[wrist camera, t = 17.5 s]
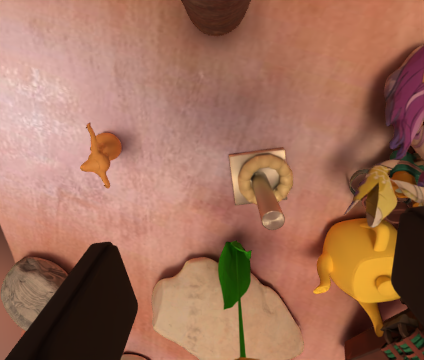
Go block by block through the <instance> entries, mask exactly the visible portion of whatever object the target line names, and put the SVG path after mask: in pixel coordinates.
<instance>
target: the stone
mask: <svg viewBox="0 0 424 360" xmlns="http://www.w3.org/2000/svg"><path fill="white" fill-rule="evenodd" d="M218 264H219V263H217V262H215V261H214V260H212V259H209V258H206V257H200V258H194V259H190V260H188V261H186V263H185V265H184V266H183V268H182V270H181V271H180V272H179V273H178V274H177V275H175V276H174V277H171V278H164V279H162V280H159V281H158V283H157V284H156V285H155V287H154V289H153V293H152V310H153V321H152V325H153V329H154V330H155V331H156V332H157V333H159V334H161V335H162V336H163V337H165V338H167V339H169V340H171V341H173V342H175V343H177V344H179V345H180V346H182V347H183V348H185V349H186V350H187V351H188V352H190V353H191V354H193V355H195V356H196V357H197V358H199V359H200V360H234V359H238V358H239V357H240V341H239V314H238V302H237V303H236V304H235V305H234V306H233V307H232V308H228V309H225V310H224V301H223V295H222V290H221V285H220V281H219V275H218ZM241 308H242V319H243V330H244V341H245V352H246V358H252V359H259V360H290V359H292V358H295V357H297V356H299V355H300V354H301V353H302V352H303V349H304V342H303V339H302V335H301V331H300V329H299V327H298V325H297V324H296V322H295V321H294V319H293V318H292V316H291V314H290V313H289V311H288V309H287V307H286V306H285V304H284V303H283V301H282V300H281V299H280V297H279V295H278V294H277V293H276V292H275V291H274V290H272V289H271V288H270V287H267V286H263V285H262V284H261V283H260V282H259V280H258V279H257V278H256V277H255V276H254V275H253V274H252V273H251V282H250V285H249V288H248V290H247V292H246V293H245V294H244V295H243V296H242V297H241Z"/></svg>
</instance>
